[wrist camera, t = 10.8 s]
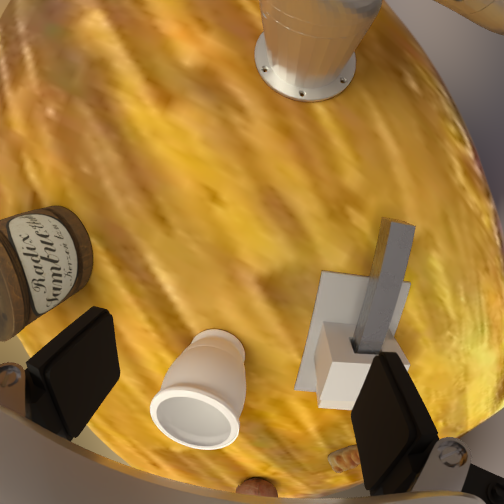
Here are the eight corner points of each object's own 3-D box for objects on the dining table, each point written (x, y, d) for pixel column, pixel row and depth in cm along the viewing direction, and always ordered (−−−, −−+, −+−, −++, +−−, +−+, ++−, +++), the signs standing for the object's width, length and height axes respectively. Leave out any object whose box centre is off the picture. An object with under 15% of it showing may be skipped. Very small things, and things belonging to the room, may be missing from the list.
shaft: (382, 217, 31) (391, 221, 28) (405, 221, 30) (415, 226, 27) (343, 366, 36) (347, 379, 33) (363, 367, 36) (368, 380, 33)
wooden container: (106, 283, 41) (9, 357, 20) (50, 298, 44) (-33, 356, 23) (76, 192, 38) (-42, 218, 17) (24, 220, 40) (-72, 254, 19)
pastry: (366, 435, 46) (369, 449, 42) (377, 448, 47) (381, 461, 43) (324, 453, 48) (325, 467, 44) (338, 465, 49) (340, 478, 45)
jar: (247, 383, 44) (233, 457, 29) (184, 370, 44) (152, 437, 30) (257, 328, 41) (245, 402, 26) (186, 315, 41) (145, 379, 27)
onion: (268, 477, 56) (274, 512, 48) (230, 480, 54) (234, 516, 46) (279, 472, 50) (286, 511, 42) (236, 476, 48) (241, 517, 40)
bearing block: (321, 270, 37) (334, 303, 28) (409, 281, 37) (441, 313, 27) (294, 387, 43) (295, 433, 33) (369, 391, 42) (383, 434, 33)
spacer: (326, 387, 36) (318, 407, 37) (366, 391, 36) (356, 410, 37) (323, 366, 41) (315, 385, 42) (359, 370, 40) (350, 389, 42)
